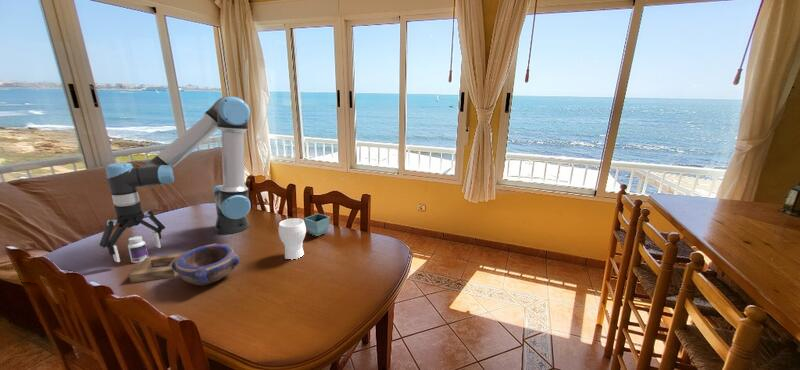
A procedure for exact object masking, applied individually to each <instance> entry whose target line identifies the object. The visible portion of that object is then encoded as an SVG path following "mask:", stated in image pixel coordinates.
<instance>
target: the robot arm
mask: <svg viewBox="0 0 800 370" xmlns="http://www.w3.org/2000/svg"><path fill="white" fill-rule="evenodd" d="M250 116H251V109H250V107H249V105H248V104H247V102H246V101H245V100H243V99H242V98H239V97H237V96H234V95H233V96H230V95H229V96H224V97H221V98H219V99H217V100H216V101H215V102H214V103H213V104H212V106H210V107H209V109H207V110H206V111H205V112H204V113H203V117H202V118H201V119H199V120H198V121H197V122H196V123H195V124H193V125H192V126H190V128H188V129H187V130H186V131H184V132H183V133H182V134H181V135H179V137H178V138H176V139H175V140H174V141H172V142H171V143H170V144H169V145H167V146H166V147H165V148H164V149H163V150H161V151H160V152H159V153H158V154H157V155H155V157H153V158H152V159H150V160H148V161H146V162H145V163H144V165H143V166H140V167H134V166H133V164H132V163H130V162H117V163H116V162H115V163H109V164H108V165H106V166H105V172H106V180H107V184H108V186H109V191H110V195H111V198H112V203H113V205H114V206H113V207H114V211H115V216H116V219H111V220H110V219H107V220H106V221H105V225H106V227H105V229H104V232H103V234H102V237H101V239H100V243H99V246H100V247H101V248H107V250H108V254H109V255H111V256H112V257H113V260H114V261H113V262H117V263H120V262H121V259H120V254H119V251H118V246H117V245H115V244H117V241H118V240H119V238H120V237H121V236H122V234H123V233H124V231H126V229H127V228H133V227H136V226H139V225H140V224H141V225H143V226H145V227H146V228H148V229H151V230H152V237H153V241H154V246H155V247H156V248H159V249H160V248H162V246H161V241H160V239H161V240H162V234H161V233H162V232H163V231H162V230H165V229H166V226H165V225H164V224H163V223H162V222H161V221H160V220H159V219H158V218H157V217H156V216H155V215H154V212H153V211H152V210H150V209H147V210H146V211H144V212H143V209H142V205H141V204H142V203H141V202H140V200H141V199H140V195H139V192H138V188H139V187H140V188H142V187H149V186H159V185H167V184H173V183H174V182H175V176H174V171H173V168H174V167H176V165H178V164H179V163H181V162H182V160H184V159H185V158H186V157H187V156H189V155H190V154H191V153H192V152H194V151H195V150H196V149H197V148H198V147H199V146H200V145H202V144H203V143H204V142H205V141H206V140H207V139H208V138H210V137H211V136H212V135H214V134H215V133H216V132H217V131H218V130H220V131H221V144H222V145H221V146H222V147H221V148H222V150H221V151H222V152H221V154H222V157H221V159H222V184H219V185H216V186H214V187H213V190H212V191H213V192H212V193H213V196H214V204H215V210H216V220H215V224H214V230H215V233H217V234H219V235H220V234H221V235H230V234H235V233H236V234H237V233H239V232H242V230H243V231H245V230H247V229H248V228H249V227H250V222H249V219H248V218H247V215H248V214H249V213H250V210H251V208H252V206H251V205H252V204H251V201H250V199H249V187H247V185H245V133H246V132H247V131H248V130H249V124H248V121H249V119H250V118H251V117H250ZM144 217H148V218H149V219H150V220H151V222H153V223H154V224H155V225H153V224H151V223H150V222H147V221H145V220H143V219H144ZM117 223H118V225H117V227H116V229H115V231H114V232H113V230H114V226H116V224H117ZM156 226H157V227H156ZM248 226H249V227H248ZM246 228H247V229H246Z"/></svg>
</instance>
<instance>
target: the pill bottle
mask: <svg viewBox="0 0 800 370" xmlns="http://www.w3.org/2000/svg"><path fill="white" fill-rule="evenodd" d="M147 248H148V247H147V244H146V241H144V240H143V236H142V235H136V236H135V235H134V236H132V237H129V238H128V245H127V249H128V254H129V258H130V261H131V263H133V264H138V263H139V264H140V263H142V262H143V261H144V259H145V258H149V253H148V249H147Z"/></svg>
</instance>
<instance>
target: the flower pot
mask: <svg viewBox="0 0 800 370" xmlns="http://www.w3.org/2000/svg"><path fill="white" fill-rule="evenodd" d="M330 218H331V217H330V216H328V215H324V214H323V213H322V214H321V213H316V214H312V215H310V216H307V217H304V219H303V220H304V223H305V226H306V231H307V232H308V233H309V235H310V234H312V235H311V236H313V235H315V236H319V235H321V234H324V233H325V234H326V233H327V231H328V230H329V227H330V220H331V219H330ZM325 234H324V235H325ZM315 236H314V237H315ZM321 236H322V235H321ZM319 237H320V236H319Z"/></svg>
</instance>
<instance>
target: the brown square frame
mask: <svg viewBox="0 0 800 370" xmlns="http://www.w3.org/2000/svg"><path fill="white" fill-rule="evenodd" d="M185 253H186V252H183V253H175V254H167V255H157V256H150V257H149V258H145V259H144V261H143V262H140V263H139V264H138V266H136V268H134V270H132V272H131V273H130V274H129V275H128V277H129V280H130V284H133V283H139V282H147V281H151V280H154V281H155V280H160V279H167V278H174V277H176V276H177V275H178V272H176V271H175V270H174V269H173V268H172V263H173V262H174V261H175V260H176V259H177V258H179V257H180V256H182V255H183V254H185ZM162 266H163V267H162ZM165 266H166V267H165ZM155 267H156V268H155Z"/></svg>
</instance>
